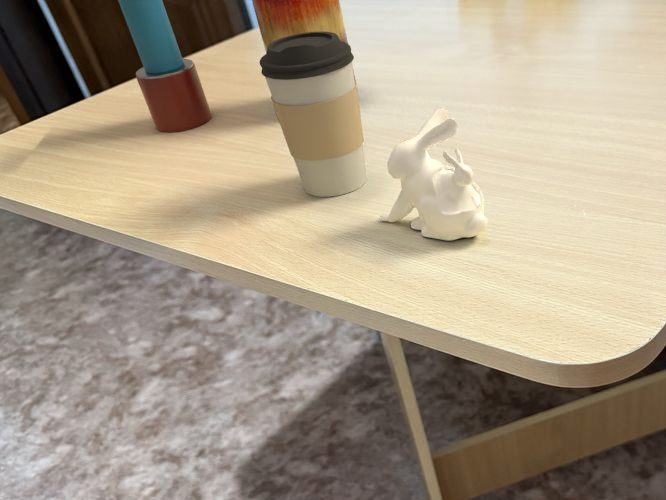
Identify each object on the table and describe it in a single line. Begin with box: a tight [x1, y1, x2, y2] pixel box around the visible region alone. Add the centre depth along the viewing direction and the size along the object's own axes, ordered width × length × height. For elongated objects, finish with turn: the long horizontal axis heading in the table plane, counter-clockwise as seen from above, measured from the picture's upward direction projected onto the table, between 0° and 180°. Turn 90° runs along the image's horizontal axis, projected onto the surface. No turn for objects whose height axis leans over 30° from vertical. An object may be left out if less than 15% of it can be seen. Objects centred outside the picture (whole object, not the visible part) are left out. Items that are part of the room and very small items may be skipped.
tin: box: [135, 58, 213, 133], centre depth 94 cm, size 8×8×7 cm
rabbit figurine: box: [377, 107, 489, 241], centre depth 63 cm, size 12×8×10 cm, turn 47°
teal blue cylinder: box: [117, 0, 184, 73], centre depth 87 cm, size 5×5×12 cm
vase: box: [251, 0, 359, 93], centre depth 90 cm, size 11×11×20 cm
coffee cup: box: [259, 32, 368, 198], centre depth 70 cm, size 9×9×15 cm
